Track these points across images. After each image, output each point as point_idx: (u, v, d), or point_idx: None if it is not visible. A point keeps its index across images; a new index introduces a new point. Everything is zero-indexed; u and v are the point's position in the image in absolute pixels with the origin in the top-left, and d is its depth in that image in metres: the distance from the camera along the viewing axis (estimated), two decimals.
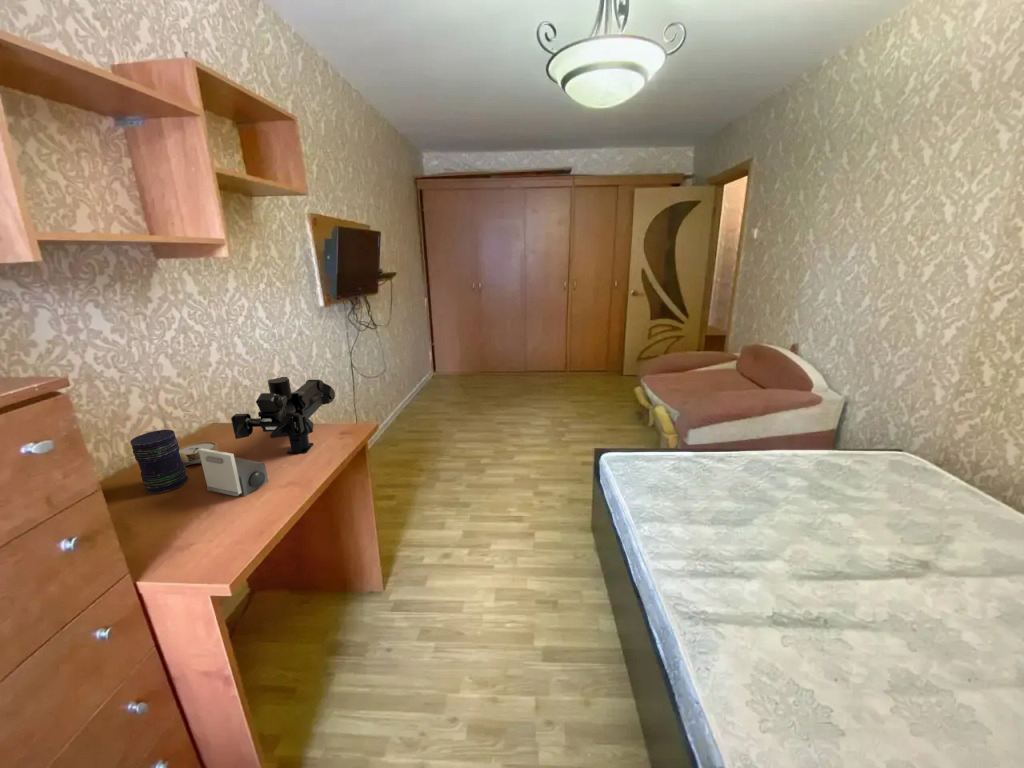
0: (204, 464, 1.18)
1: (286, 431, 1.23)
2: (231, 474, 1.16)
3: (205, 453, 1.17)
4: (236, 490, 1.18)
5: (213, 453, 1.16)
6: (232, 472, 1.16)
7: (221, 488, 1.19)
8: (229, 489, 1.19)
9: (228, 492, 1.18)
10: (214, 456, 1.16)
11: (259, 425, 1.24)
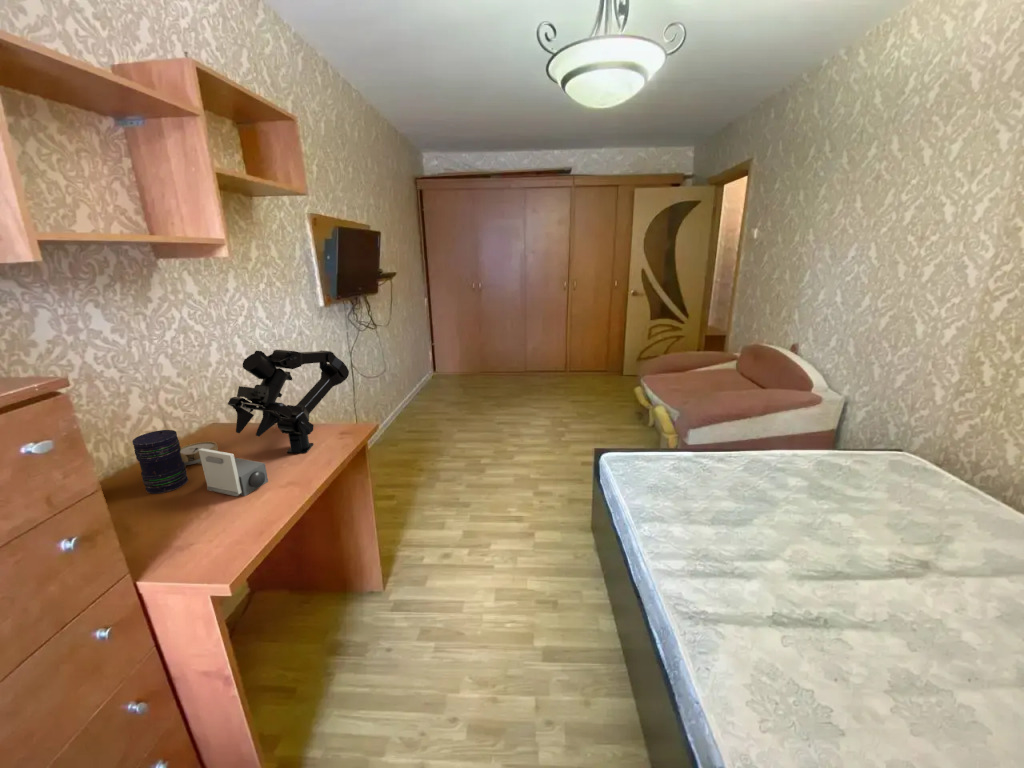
0: (204, 464, 1.18)
1: (272, 420, 1.27)
2: (231, 474, 1.16)
3: (205, 453, 1.17)
4: (236, 490, 1.18)
5: (213, 453, 1.16)
6: (232, 472, 1.16)
7: (221, 488, 1.19)
8: (229, 489, 1.19)
9: (228, 492, 1.18)
10: (214, 456, 1.16)
11: (253, 409, 1.29)
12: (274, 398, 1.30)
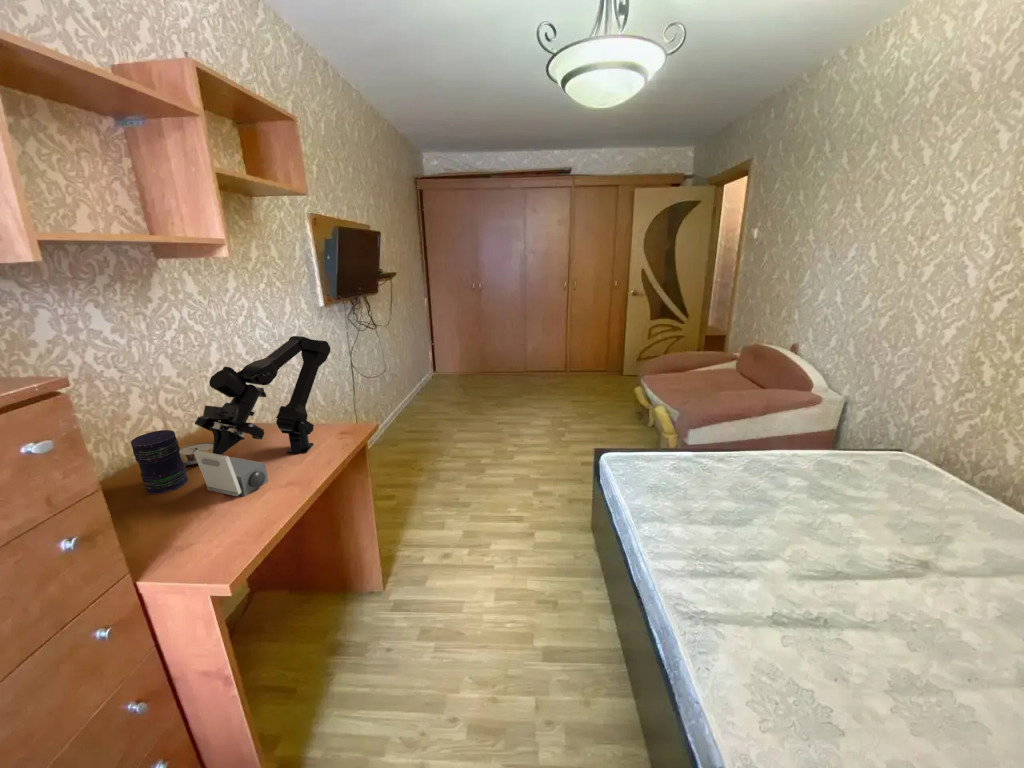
0: (201, 466, 1.18)
1: (232, 439, 1.19)
2: (229, 475, 1.16)
3: (200, 456, 1.16)
4: (236, 490, 1.18)
5: (208, 456, 1.15)
6: (229, 474, 1.15)
7: (221, 488, 1.19)
8: (229, 489, 1.18)
9: (228, 492, 1.18)
10: (210, 459, 1.15)
11: None
12: (245, 417, 1.21)
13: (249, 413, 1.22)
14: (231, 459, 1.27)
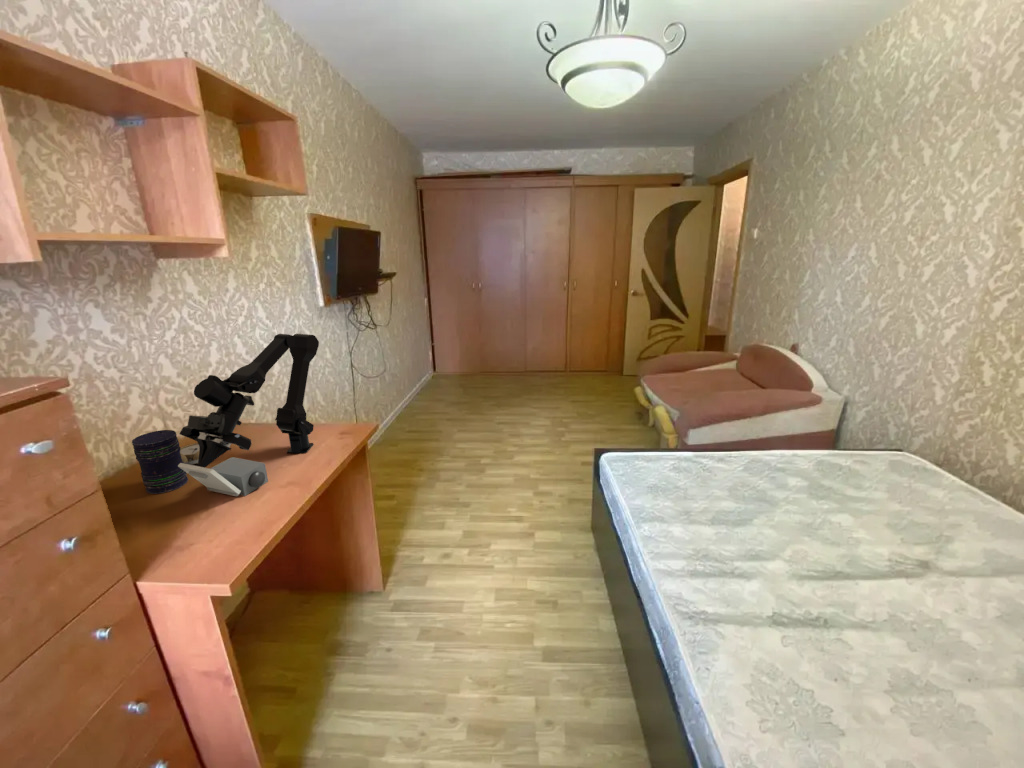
0: None
1: (219, 450, 1.15)
2: (221, 483, 1.14)
3: (186, 468, 1.12)
4: (234, 492, 1.17)
5: (193, 469, 1.11)
6: (221, 482, 1.13)
7: (220, 489, 1.19)
8: (227, 490, 1.18)
9: (228, 493, 1.18)
10: (196, 471, 1.12)
11: None
12: (231, 427, 1.17)
13: (236, 422, 1.19)
14: (231, 459, 1.27)
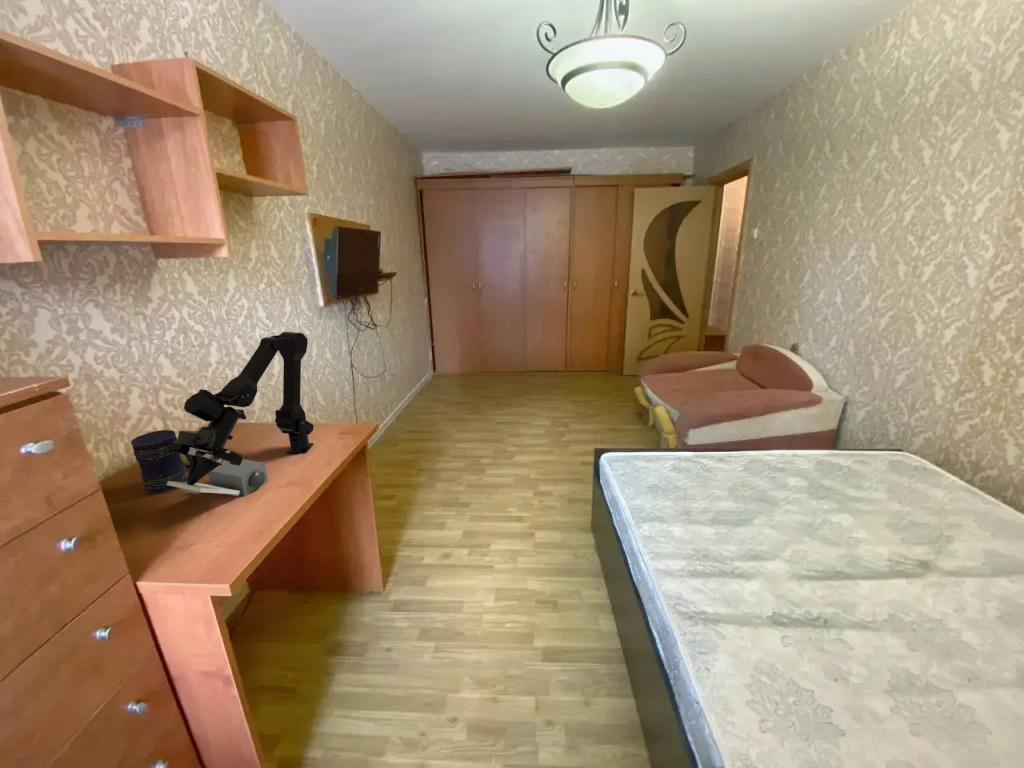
0: None
1: (209, 465, 1.13)
2: (216, 492, 1.13)
3: (176, 486, 1.10)
4: (233, 493, 1.17)
5: (183, 488, 1.09)
6: (216, 492, 1.12)
7: None
8: None
9: (228, 494, 1.18)
10: (186, 488, 1.10)
11: None
12: (222, 442, 1.15)
13: (227, 437, 1.16)
14: None
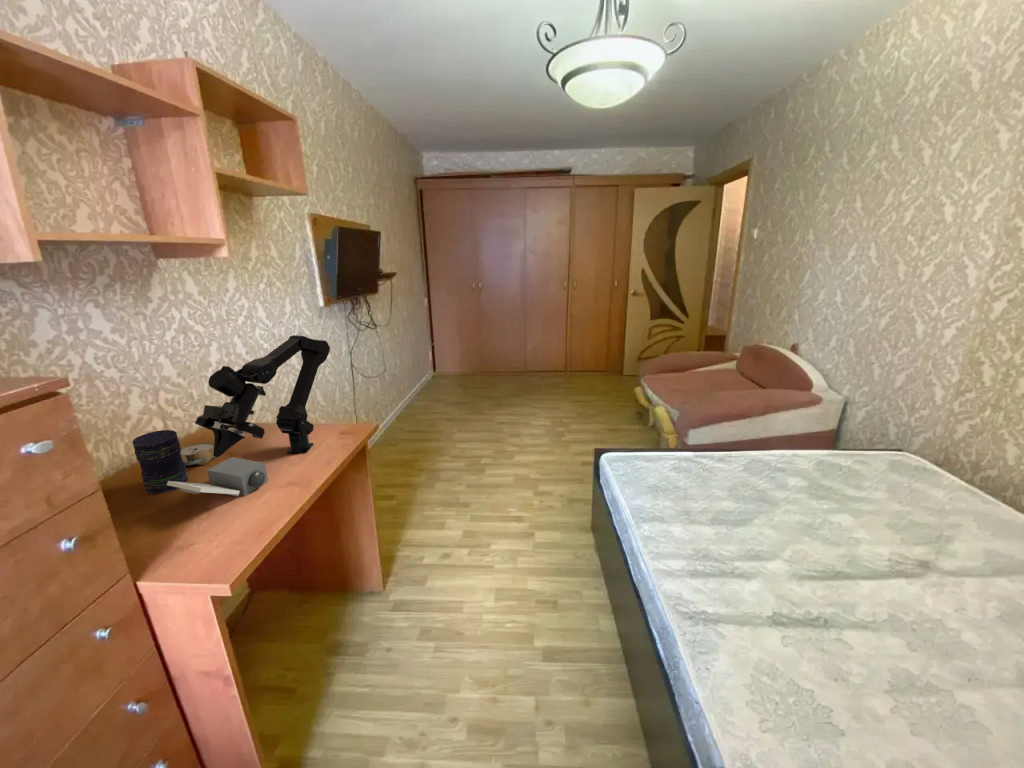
0: None
1: (233, 438, 1.19)
2: (216, 492, 1.13)
3: (176, 486, 1.10)
4: (233, 493, 1.17)
5: (183, 488, 1.09)
6: (216, 492, 1.12)
7: None
8: None
9: (228, 494, 1.18)
10: (186, 488, 1.10)
11: None
12: (245, 416, 1.21)
13: (249, 412, 1.22)
14: (231, 459, 1.27)
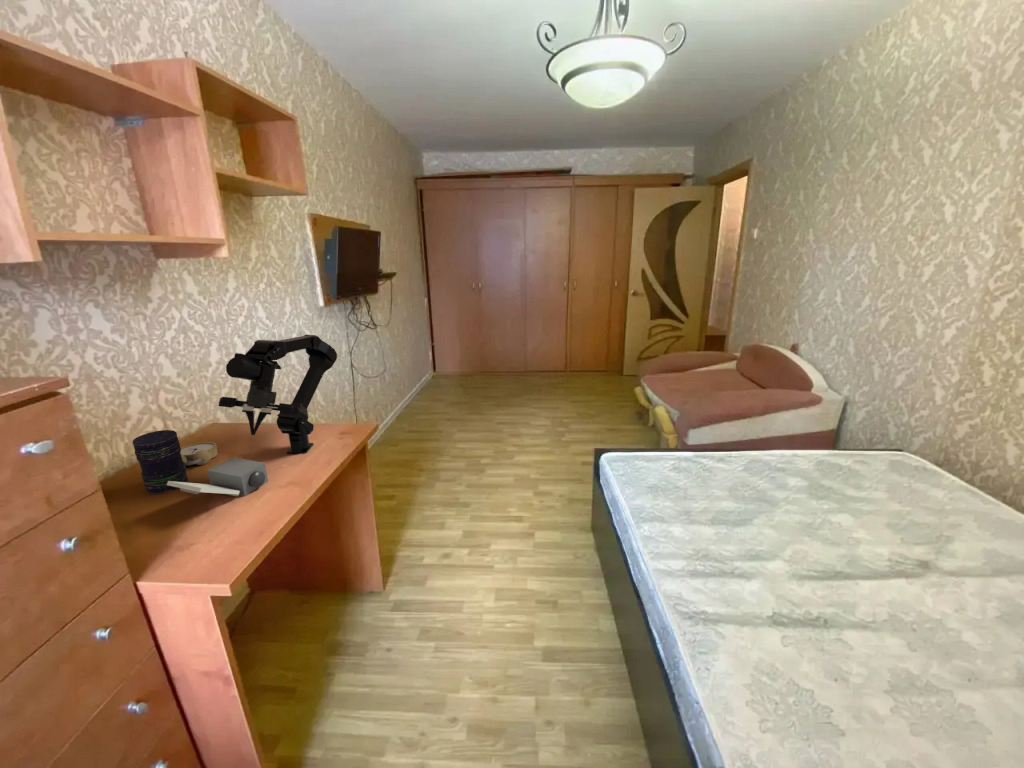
0: None
1: None
2: (216, 492, 1.13)
3: (176, 486, 1.10)
4: (233, 493, 1.17)
5: (183, 488, 1.09)
6: (216, 492, 1.12)
7: None
8: None
9: (228, 494, 1.18)
10: (186, 488, 1.10)
11: None
12: None
13: None
14: (231, 459, 1.27)
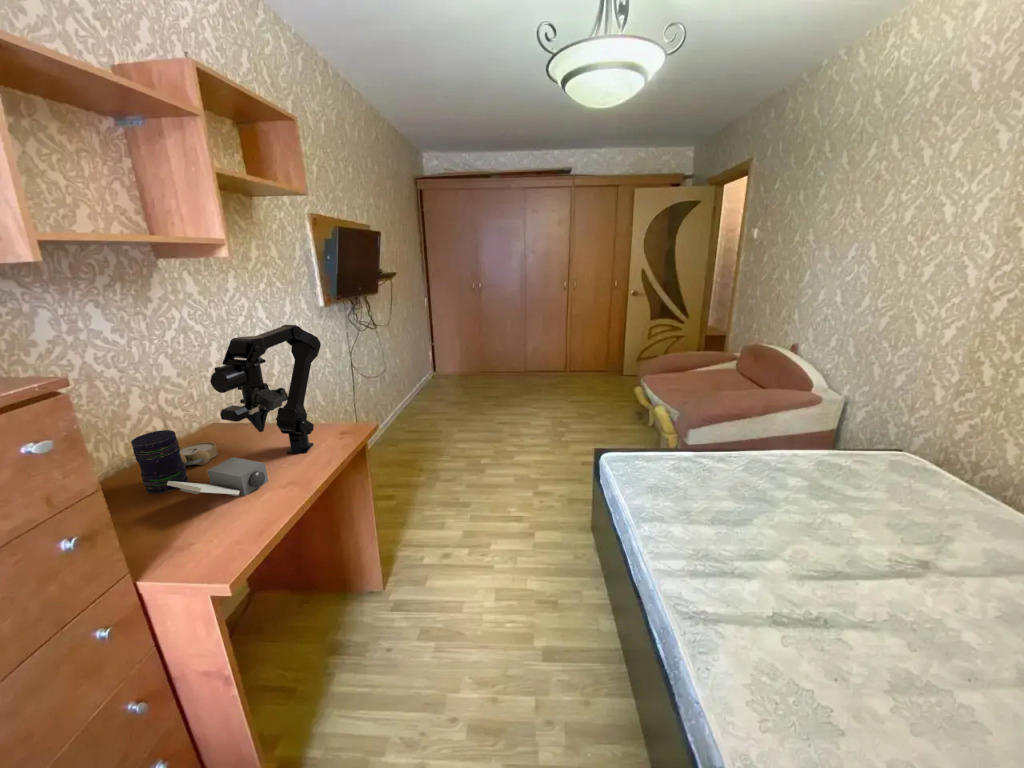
0: None
1: None
2: (216, 492, 1.13)
3: (176, 486, 1.10)
4: (233, 493, 1.17)
5: (183, 488, 1.09)
6: (216, 492, 1.12)
7: None
8: None
9: (228, 494, 1.18)
10: (186, 488, 1.10)
11: None
12: None
13: None
14: (231, 459, 1.27)
